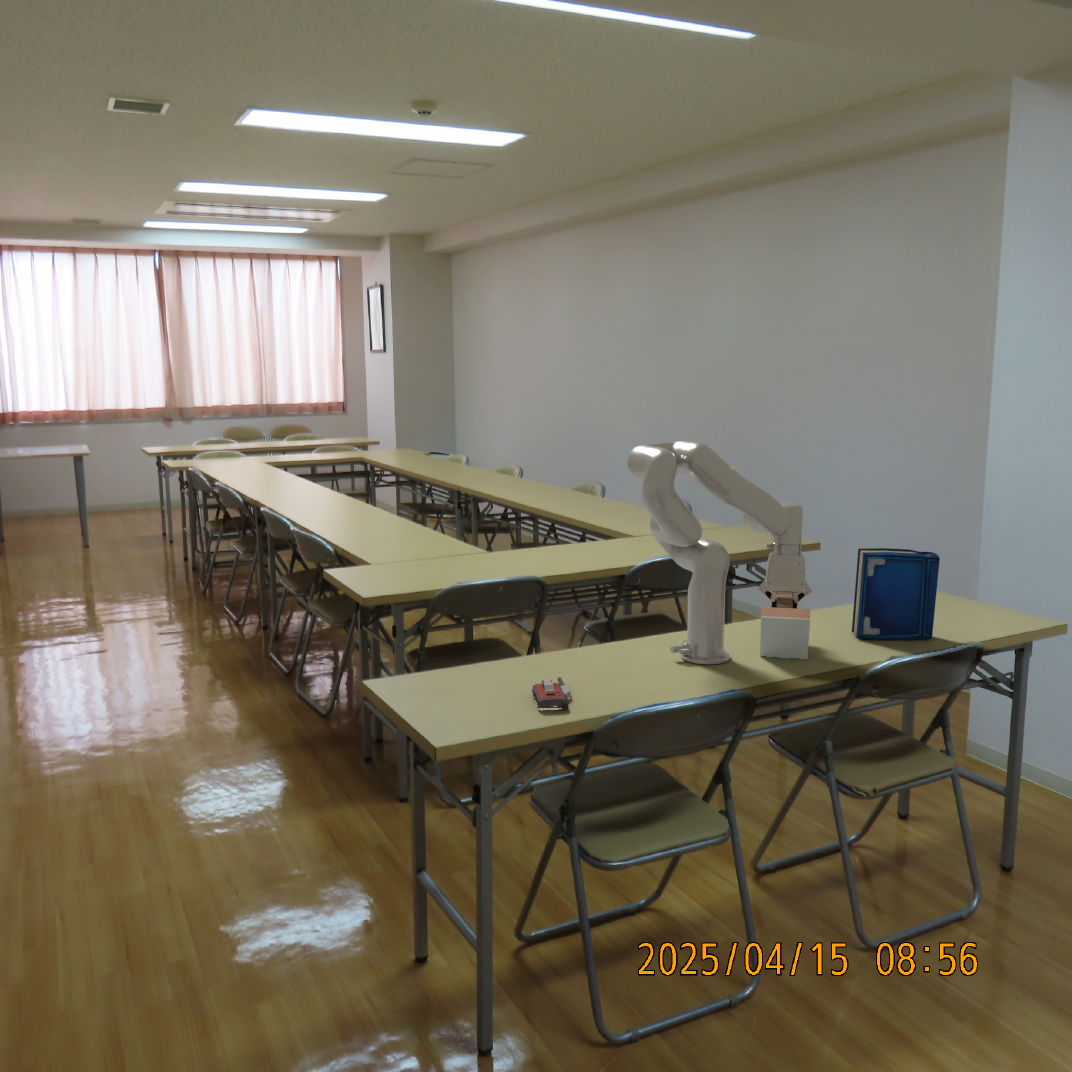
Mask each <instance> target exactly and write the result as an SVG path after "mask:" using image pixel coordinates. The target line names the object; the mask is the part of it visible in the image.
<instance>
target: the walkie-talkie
mask: <svg viewBox="0 0 1072 1072" xmlns="http://www.w3.org/2000/svg"><path fill="white" fill-rule="evenodd" d="M557 681H558V683H557V682H553V680H552V679H542V680H541V683H535V684H534V685H532V688H531V694H532V693H533V694H532V697H533V696H534V697H535V700H536V702H537V705H538V708H562V709H565V710H568V709H569V702H568V701H567V698H569V697H570V696H571V697H572V694H571V693H572V692H571V689H570V686H569V685H567V684H566V685H565V683H564V680H563V679H562V677H561V676H559V677H557ZM534 697H533V698H534ZM535 700H534V701H535ZM554 706H557V707H554Z"/></svg>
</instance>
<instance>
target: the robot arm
mask: <svg viewBox="0 0 1072 1072" xmlns="http://www.w3.org/2000/svg"><path fill="white" fill-rule="evenodd" d="M626 462H627V463H626V464H627V467H628V470H629V472H630V473H631V474H632V475H633V476H635V477H638V478H640V479H643V483H642V493H641V496H642V502H643V505H644V507H645V509H646V511H647V512H648V513H649V515H650V516H651V517H650V520H649V527H650V532H651V534H652V537H654V540H656V541H657V542H658V544H659V545H660V546H661V547H662V549H663V550H664V551H665V552H666V553H667V554H668V555H669V556H670V558H671V559H672V560H673V562H675V564H677V565H678V566H679V567H681V568H682V569H685V570H687V571H689V572H692V575H691V578H690V582H689V584H688V589H687V631H686V632H687V636H686V639H685V640H684V639H683V643H681V644H680V645H671V646H670V647H669V651H670V653H671V654H679V655H680V657H681V658H682V660H684V661H686V662H688V663H692V664H697V665H719V664H724V663H726V662H728V661H729V660H730V658H731V657H730V656H731V654H730V652H728V651H727V650H725V649H724V648H725V617H726V616H725V613H726V608H725V607H726V605H725V604H726V603H725V602H726V583H727V575H728V572H729V568H730V554H729V551H728V550H727V549H726V547H725V546H724V545H723V544H721V543H720V542H718V541H716V540H713V539H710V538H707V537H703V536H702V535H703V529H702V524H701V523H700V521H699V519H698V518H697V517H696V515H695V514H694V513H693V511H692V510H690V508H689V507H688V506H687V505H686V504H685V503H684V501H683V500H682V499H681V496H680V495H679V494H678V493H677V491H676V488H675V480H676V475H677V474H678V473H681V474H686V475H689V476H690V477H692V478H693V479H694V481H696V482H697V483H698V484H699V485H701V486H702V487H703V488H704V489H705V490H706V491H707V492H709V494H711V495H712V496H713V497H714V498H715V499H717V500H718V501H719V502H721V503H723V504H725V505H728V506H729V507H732V508H734V509H737V510H739V511H741V512H743V513H742V522H743V524H744V525H745V526H746V527H747V528H748V529H750V530H752V531H754V532H757V533H758V532H759V533H762V534H766V535H769V536H772V542H771V543H767V544H766V550H769V551H771V552H770V553H769V554H768V557H767V562H766V564H767V565H766V573H765V578H764V579H763V581H762V582H761V584H760V585H759V586H758V591H759V592H761V593H762V594H764V595H765V596H766V598H768V599H769V600H770V602H771V607H774V608H777V600H776V598H777V592H791V593H792V602H793V608H795V609H798V603H799V601H801V600H802V599H803V598H804V597H806V596H809V595H810V594H811V593H812V591H813V590H812V588H811V586H810V584H808V582H807V579H806V562H805V561H806V560H805V555H804V554H803V553H802V540H803V517H804V509H803V506H802V505H801V504H799V503H798V502H797V503H796V502H779V501H778V500H777V499H775V498H774V497H773V496H772V495H771V494H770V493H768V492H767V491H765V490H763V488H761V487H759V486H758V485H756V484H755V483H753V482H752V481H751V480H749V479H748V478H746V477H745V476H744V475H741V474H740V473H739V472H738V471H737V470H736V469H734V468H733V467H732V466H731V465H730V464H729V463H728V462H726V460H724V459H723V458H722V457H721V456H720V455H719V454H718V453H717V452H715V450H713V449H712V448H711V447H710V446H709V445H708V444H705V443H704V442H699V441H692V440H676V441H675V440H674V441H667V442H657V443H645V444H639V445H637V446H635V447H634V448H633V449H631V450H630V452H629V453H628V456H627V461H626Z"/></svg>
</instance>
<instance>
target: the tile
mask: <svg viewBox="0 0 1072 1072" xmlns="http://www.w3.org/2000/svg"><path fill="white" fill-rule="evenodd" d="M760 613H761V615H760V647H759V648H760V650H759V657H760V656H766V657H765V658H772V657H778V659H789V658H796V659H795V660H805V659H807V660H808V655H809V644H810V643H809V642H810V641H809V640H810V627H811V609H810V608H797V609H795V608H774V607H772V606H771V607H769V606H761V611H760ZM779 657H780V658H779ZM797 658H799V659H797Z"/></svg>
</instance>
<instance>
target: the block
mask: <svg viewBox="0 0 1072 1072" xmlns="http://www.w3.org/2000/svg"><path fill="white" fill-rule="evenodd" d="M776 600H777V608H793V602H792V600H793V593H791V592H777V595H776Z"/></svg>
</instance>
